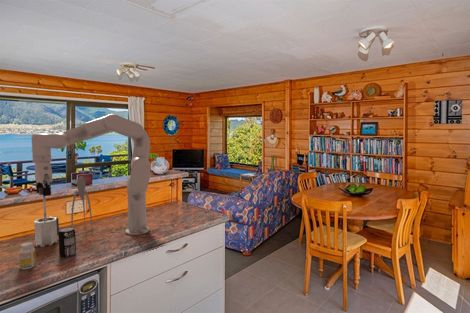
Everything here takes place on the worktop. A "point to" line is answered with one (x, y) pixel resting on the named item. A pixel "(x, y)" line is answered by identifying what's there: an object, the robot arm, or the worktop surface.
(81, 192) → the juicer
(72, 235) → the beverage can
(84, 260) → the worktop surface
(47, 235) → the press carafe
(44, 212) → the grey knobbed rod
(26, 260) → the supplement bottle
